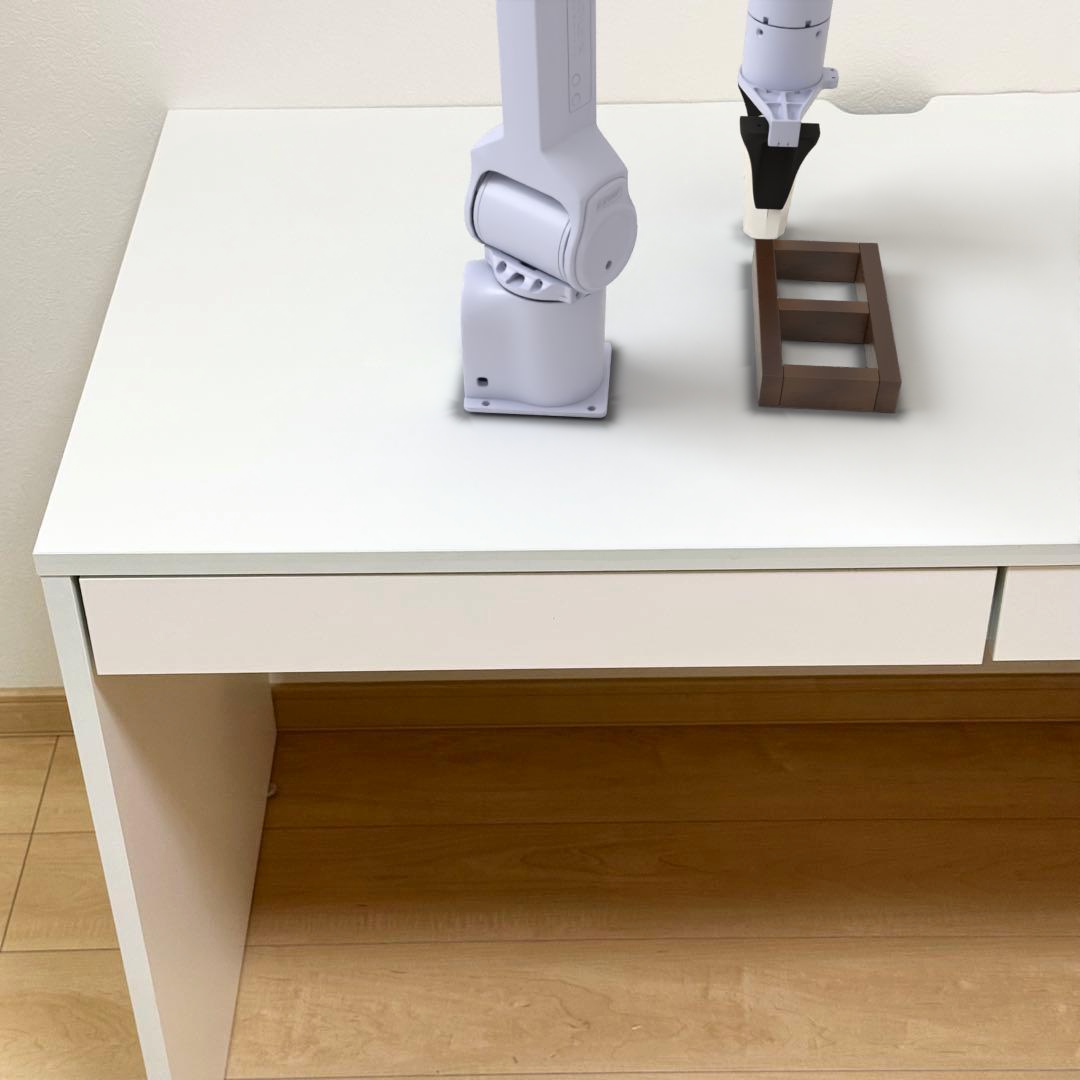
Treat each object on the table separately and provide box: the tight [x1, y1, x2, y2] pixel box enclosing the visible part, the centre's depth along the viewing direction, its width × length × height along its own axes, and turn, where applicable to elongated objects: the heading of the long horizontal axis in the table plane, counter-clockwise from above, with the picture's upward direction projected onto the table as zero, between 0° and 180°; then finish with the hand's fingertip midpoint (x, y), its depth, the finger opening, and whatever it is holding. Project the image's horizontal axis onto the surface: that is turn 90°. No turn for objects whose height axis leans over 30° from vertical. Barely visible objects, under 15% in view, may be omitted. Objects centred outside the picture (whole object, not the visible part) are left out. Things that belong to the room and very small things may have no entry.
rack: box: [750, 238, 903, 414], centre depth 95 cm, size 9×17×3 cm, turn 175°
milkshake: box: [742, 115, 803, 240], centre depth 102 cm, size 4×5×10 cm
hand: (767, 187), depth 103 cm, fingers closed on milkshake, 5 cm apart
